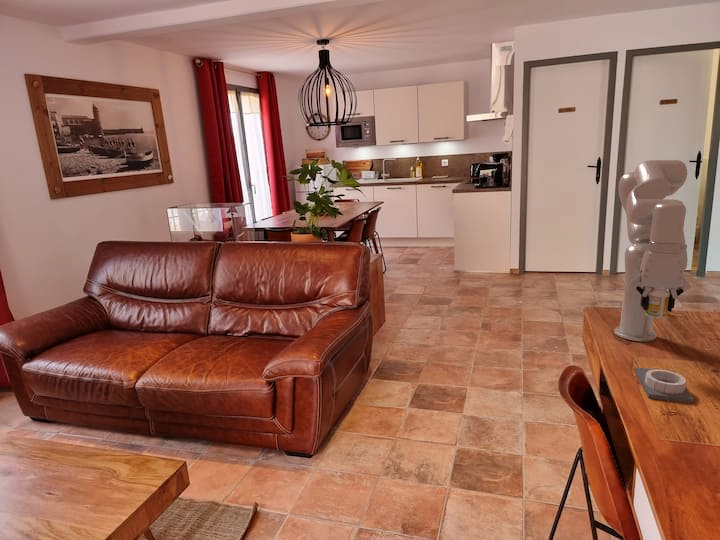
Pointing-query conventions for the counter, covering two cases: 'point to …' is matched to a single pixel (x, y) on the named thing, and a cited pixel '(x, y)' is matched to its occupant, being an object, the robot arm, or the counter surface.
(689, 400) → the collar board
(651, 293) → the supplement bottle
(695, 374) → the counter surface
